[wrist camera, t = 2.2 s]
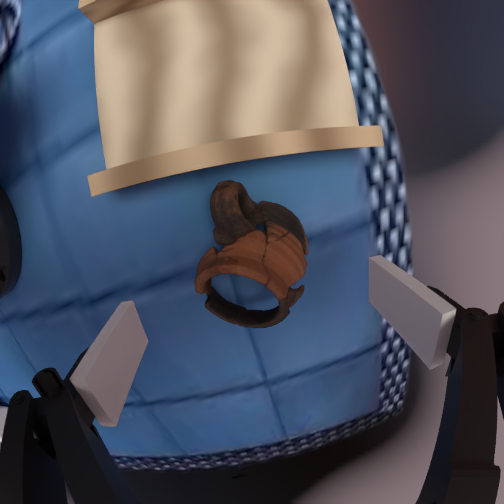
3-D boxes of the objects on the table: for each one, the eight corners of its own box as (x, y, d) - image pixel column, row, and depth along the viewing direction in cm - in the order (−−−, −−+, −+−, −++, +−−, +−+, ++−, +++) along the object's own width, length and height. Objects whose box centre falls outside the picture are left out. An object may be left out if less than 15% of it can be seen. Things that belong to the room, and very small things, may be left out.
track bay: (116, 189, 22) (91, 196, 18) (99, 17, 17) (79, -3, 12) (356, 148, 23) (383, 145, 18) (315, -17, 17) (330, -42, 13)
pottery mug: (323, 260, 27) (317, 331, 21) (239, 273, 31) (216, 336, 25) (279, 145, 20) (255, 199, 14) (183, 180, 24) (135, 235, 18)
